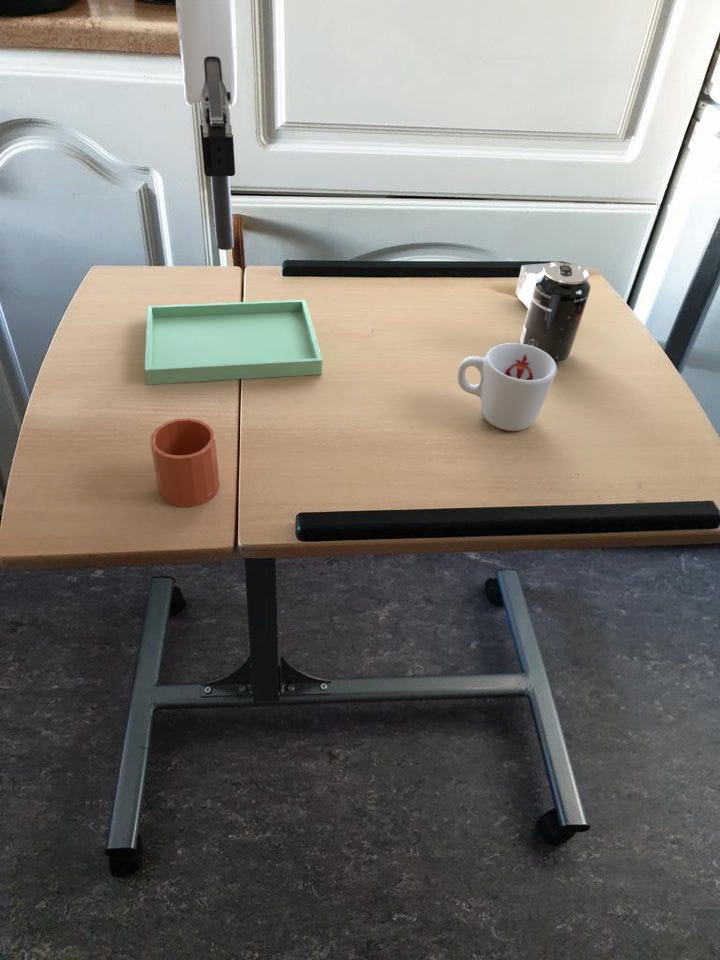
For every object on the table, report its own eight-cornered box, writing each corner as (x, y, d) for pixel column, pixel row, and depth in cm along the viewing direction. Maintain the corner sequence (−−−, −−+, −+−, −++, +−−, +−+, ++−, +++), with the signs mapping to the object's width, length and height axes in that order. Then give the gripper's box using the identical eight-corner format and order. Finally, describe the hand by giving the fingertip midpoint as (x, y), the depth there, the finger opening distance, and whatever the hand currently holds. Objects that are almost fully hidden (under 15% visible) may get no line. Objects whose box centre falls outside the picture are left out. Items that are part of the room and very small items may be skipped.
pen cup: (159, 510, 69) (150, 460, 65) (159, 469, 74) (151, 420, 69) (220, 504, 70) (216, 455, 66) (217, 464, 75) (213, 416, 70)
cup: (442, 420, 83) (453, 363, 77) (461, 385, 88) (472, 329, 83) (532, 446, 80) (550, 389, 75) (546, 408, 86) (563, 352, 80)
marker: (216, 250, 80) (205, 118, 71) (215, 242, 82) (204, 112, 72) (235, 250, 81) (227, 118, 71) (234, 241, 82) (226, 112, 73)
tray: (146, 384, 84) (144, 370, 83) (149, 319, 95) (147, 305, 94) (322, 374, 88) (322, 360, 87) (305, 313, 99) (305, 299, 97)
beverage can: (566, 344, 97) (591, 263, 89) (570, 372, 92) (596, 288, 84) (517, 338, 98) (537, 256, 89) (517, 365, 93) (539, 280, 84)
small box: (547, 291, 108) (555, 261, 105) (564, 309, 104) (573, 279, 101) (513, 293, 107) (520, 263, 104) (529, 312, 103) (537, 281, 100)
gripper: (161, -57, 68) (182, 144, 80) (159, -29, 57) (184, 200, 69) (239, -53, 69) (248, 144, 82) (253, -25, 58) (261, 199, 70)
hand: (219, 168), depth 75 cm, fingers closed on marker, 2 cm apart
